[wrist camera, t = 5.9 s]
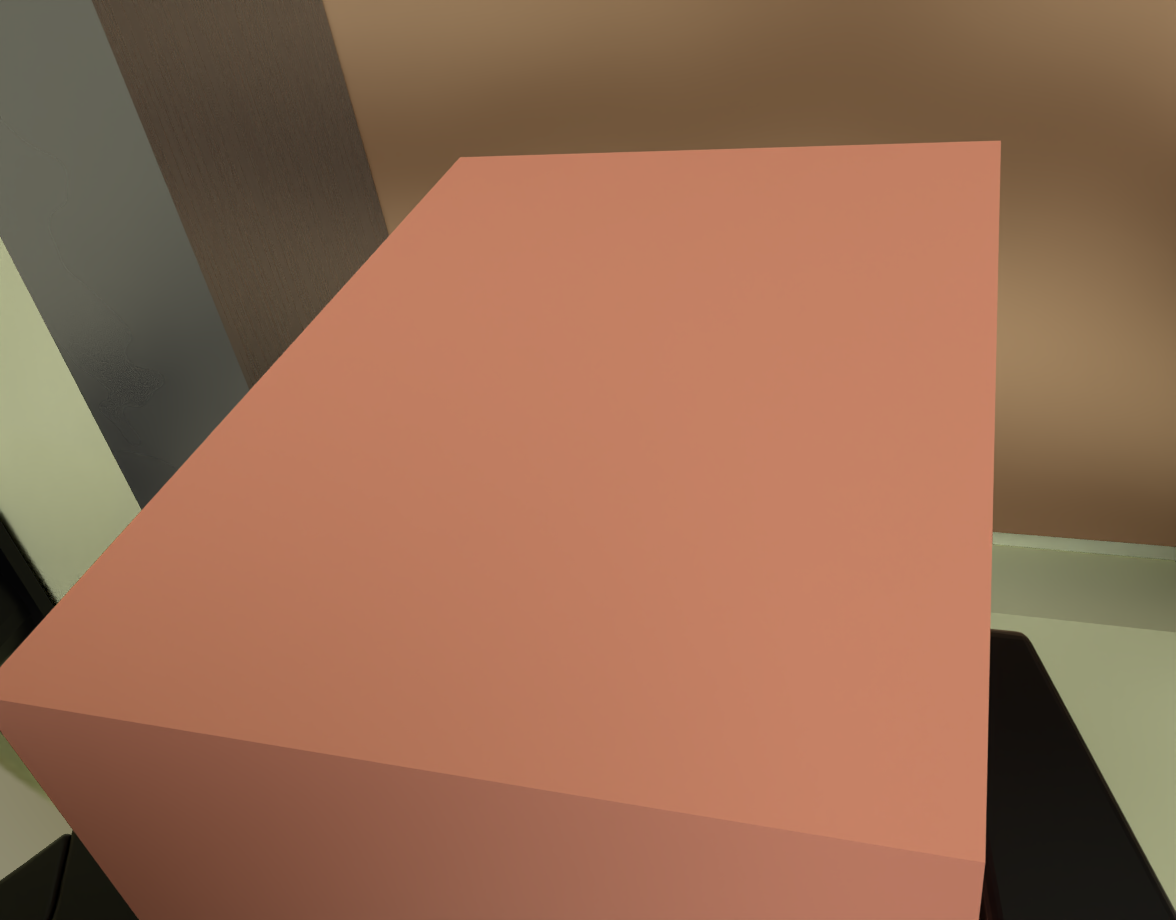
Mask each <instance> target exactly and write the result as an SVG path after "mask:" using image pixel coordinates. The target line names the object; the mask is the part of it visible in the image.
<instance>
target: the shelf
mask: <svg viewBox="0 0 1176 920" xmlns="http://www.w3.org/2000/svg"><path fill="white" fill-rule="evenodd" d="M322 2H323V6H324V10H325V13H326V17H327V20H328V24H329V27H330V31H331V34H332V38H333V41H334V45H335V48H336V52H337V55H338V59H339V62H340V66H341V69H342V73H343V76H344V80H345V84H346V87H347V91H348V94H349V98H350V101H351V105H352V108H353V112H354V115H355V119H356V122H357V126H358V129H359V133H360V136H361V140H362V143H363V147H364V150H365V154H366V158H367V161H368V165H369V168H370V172H371V175H372V179H373V182H374V186H375V189H376V193H377V196H378V200H379V203H380V207H381V210H382V214H383V217H384V221H385V224H386V228H387V232H388V235H390V234H391V233H392V232H393V231H394V230H395V229H396V228H397V227H398V225H399V224H400V223H401V222H402V221H403V220H404V219H405V218H406V217H407V215H408V214H409V213H410V212H411V211H412V210H413V209H414V208H415V207H416V205H417V204H418V203H419V202H420V201H421V200H422V199H423V198H424V197H425V195H426V194H427V193H428V192H429V191H430V190H431V189H432V188H433V187H434V186H435V184H436V183H437V182H438V181H439V180H440V179H441V178H442V177H443V176H444V174H445V173H446V172H447V171H448V170H449V169H450V168H451V167H452V166H453V164H454V163H455V162H456V161H457V160H458V159H459V158H460V157H483V156H516V155H548V154H581V153H613V152H646V151H678V150H710V149H743V148H775V147H808V146H840V145H873V144H905V143H938V142H970V141H1001V162H1000V208H999V254H998V300H997V346H996V392H995V438H994V484H993V530H992V532H1001V533H1014V534H1026V535H1038V536H1051V537H1063V538H1075V539H1087V540H1100V541H1112V542H1124V543H1137V544H1149V545H1161V546H1174V547H1176V0H322Z"/></svg>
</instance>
